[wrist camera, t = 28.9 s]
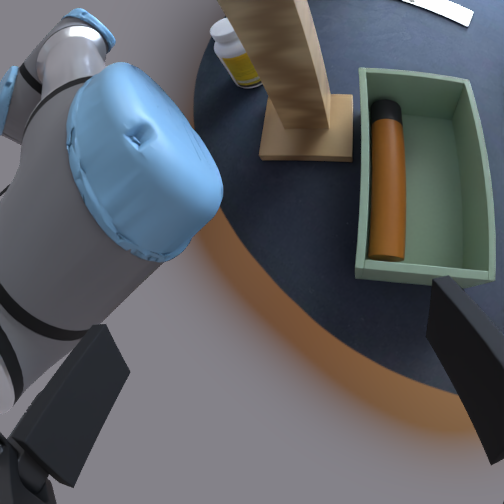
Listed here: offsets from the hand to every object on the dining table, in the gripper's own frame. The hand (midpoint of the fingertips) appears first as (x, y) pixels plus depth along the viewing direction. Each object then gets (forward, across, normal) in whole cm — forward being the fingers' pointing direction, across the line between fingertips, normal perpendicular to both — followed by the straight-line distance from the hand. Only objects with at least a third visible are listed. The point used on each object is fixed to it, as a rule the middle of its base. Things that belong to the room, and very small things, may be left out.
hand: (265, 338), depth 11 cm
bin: (+25, +17, -2) cm, 31 cm away
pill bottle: (+42, 0, +17) cm, 45 cm away
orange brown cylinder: (+25, +15, 0) cm, 29 cm away
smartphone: (+44, +38, +31) cm, 66 cm away
